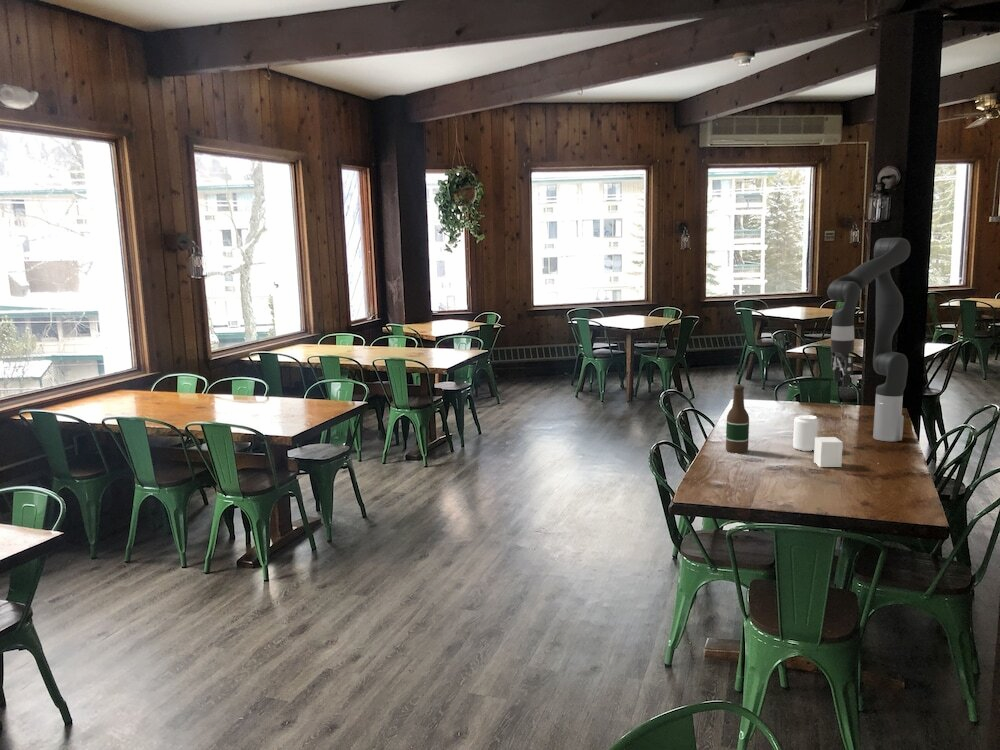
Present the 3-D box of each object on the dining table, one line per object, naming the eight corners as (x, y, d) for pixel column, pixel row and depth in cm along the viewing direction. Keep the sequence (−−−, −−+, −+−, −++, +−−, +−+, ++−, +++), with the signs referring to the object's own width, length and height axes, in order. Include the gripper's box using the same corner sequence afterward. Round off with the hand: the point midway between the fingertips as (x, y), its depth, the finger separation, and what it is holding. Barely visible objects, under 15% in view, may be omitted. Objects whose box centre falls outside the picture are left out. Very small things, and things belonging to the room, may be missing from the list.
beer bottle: (748, 449, 295) (750, 384, 291) (747, 454, 288) (750, 388, 284) (726, 447, 297) (728, 383, 293) (724, 453, 290) (727, 387, 286)
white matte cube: (834, 462, 276) (835, 437, 275) (841, 467, 270) (842, 442, 268) (813, 462, 277) (815, 437, 275) (820, 467, 270) (821, 442, 269)
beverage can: (818, 452, 289) (820, 419, 287) (794, 451, 291) (796, 418, 289) (814, 446, 297) (816, 414, 295) (791, 445, 299) (792, 414, 297)
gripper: (861, 340, 277) (860, 387, 280) (845, 335, 291) (844, 379, 294) (839, 341, 277) (838, 387, 280) (824, 336, 291) (823, 380, 294)
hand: (841, 383), depth 287 cm, fingers open, 8 cm apart
